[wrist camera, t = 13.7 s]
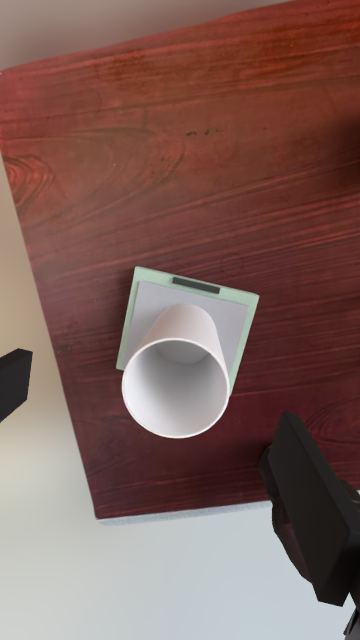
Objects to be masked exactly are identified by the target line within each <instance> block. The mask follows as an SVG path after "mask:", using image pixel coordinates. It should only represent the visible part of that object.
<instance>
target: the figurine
mask: <svg viewBox="0 0 360 640" xmlns="http://www.w3.org/2000/svg"><path fill="white" fill-rule="evenodd" d="M270 448H271V446H268V447H267V448H266V449H265V451H264V453H263V454H262V456H261V459H260V460H259V461H258V465H257V470H258V473H259V474H260V475H261V476H262V481H263V484H264V486H265V488H266V491H267V493H268V496H269V498H270V500H271V502H272V504H273V507H272V524H273V528H274V532H275V533H276V535H277V536H278V538H279V539H280V541H281V543H282V544H283V547H284V549H285V551H286V553H287V555H288V557H289V559H290V560H291V562H292V563H293V564H294V566H295V567H296V569H297V570H298V572H299V573H300V575H301V576H302V577H303V578H305V579H306V580H307V581H309V582H310V583H312V582H311V580H310V577H309V574H308V571H307V568H306V565H305V562H304V560H303V557H302V554H301V551H300V548H299V545H298V543H297V540H296V537H295V534H294V531H293V528H292V525H291V523H290V520H289V517H288V514H287V511H286V508H285V506H284V503H283V500H282V497H281V494H280V491H279V489H278V486H277V483H276V480H275V477H274V474H273V471H272V469H271V466H270V463H269V460H268V454H269V451H270Z"/></svg>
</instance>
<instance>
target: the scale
mask: <svg viewBox="0 0 360 640" xmlns="http://www.w3.org/2000/svg"><path fill="white" fill-rule="evenodd" d="M258 299H259V296H258V295H257V294H255V293H251V292H246V291H242V290H238V289H234V288H229V287H225V286H221V285H217V284H212V283H208V282H204V281H200V280H195V279H191V278H187V277H183V276H178V275H174V274H170V273H166V272H161V271H157V270H153V269H149V268H145V267H140V266H138V267H135V271H134V277H133V282H132V287H131V292H130V297H129V303H128V308H127V313H126V318H125V323H124V328H123V334H122V339H121V344H120V349H119V354H118V360H117V365H116V369H120V370H124V371H125V368H126V366H127V364H128V362H129V360H130V358H131V357H132V355H133V354H134V352H135V351H136V349H137V348H138V346H139V345H140V343H141V342H142V340H143V339H144V337H145V336H146V334H147V333H148V331H149V330H150V328H151V327H152V325H153V324H154V322H155V321H156V319H157V318H158V316H159V315H160V314H161V313H162V312H163V311H164V310H166V309H167V308H169V307H171V306H173V305H177V304H192V305H195V306H198V307H200V308H202V309H203V310H204V311H206V312H207V313H208V314H209V315H210V317H211V318H212V320H213V322H214V324H215V327H216V330H217V334H218V338H219V342H220V346H221V350H222V354H223V357H224V361H225V365H226V369H227V373H228V377H229V384H230V393H229V396H230V395H231V392H232V389H233V385H234V382H235V378H236V375H237V371H238V368H239V364H240V361H241V358H242V354H243V351H244V347H245V344H246V340H247V337H248V333H249V330H250V327H251V323H252V320H253V316H254V313H255V309H256V306H257V303H258Z"/></svg>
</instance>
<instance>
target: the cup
mask: <svg viewBox="0 0 360 640" xmlns="http://www.w3.org/2000/svg"><path fill="white" fill-rule="evenodd" d="M122 393H123V398H124V402H125V404H126V407H127V409H128V411H129V412H130V414H131V415H132V416H133V418H134V419H135V420H136V421H137V422H138V423H139V424H140V425H141V426H143V427H144V428H145V429H147V430H149V431H151V432H153V433H155V434H157V435H160V436H164V437H169V438H185V437H191V436H194V435H197V434H200V433H202V432H204V431H205V430H207V429H209V428H210V427H211V426H213V425H214V424H215V423H216V422H217V421H218V420H219V418H220V417H221V416H222V414H223V412H224V411H225V408H226V406H227V403H228V399H229V393H230V384H229V377H228V373H227V369H226V365H225V361H224V357H223V354H222V350H221V346H220V342H219V338H218V334H217V330H216V327H215V324H214V322H213V320H212V318H211V317H210V315H209V314H208V313H207V312H206V311H204V310H203V309H202V308H200V307H198V306H195V305H192V304H177V305H173V306H171V307H169V308H167V309H166V310H164V311H163V312H162V313H161V314H160V315H159V316H158V318H157V319H156V321H155V322H154V324H153V325H152V327H151V328H150V330H149V331H148V333H147V334H146V336H145V337H144V339H143V340H142V342H141V343H140V345H139V346H138V348H137V349H136V351H135V352H134V354H133V355H132V357H131V358H130V360H129V362H128V364H127V366H126V368H125V371H124V374H123V379H122Z"/></svg>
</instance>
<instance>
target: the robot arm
mask: <svg viewBox="0 0 360 640" xmlns="http://www.w3.org/2000/svg"><path fill="white" fill-rule="evenodd" d="M32 354H33V352H31V351H27V350H23V349H19V348H18V349H16V350H14V351H12V352H10V353H8V354H6V355H4V356H3V357H1V358H0V422H1V421H3V420H4V419H5V418H6V417H7V416H8V415H10V414H11V413H12V412H13V411H14V410H15V409H16V408H18V407H19V406H20V405H21V404H22V403H23V402H25V401H26V400H27V394H28V386H29V378H30V370H31V362H32ZM268 460H269V463H270V466H271V469H272V471H273V474H274V477H275V480H276V483H277V486H278V489H279V491H280V494H281V497H282V500H283V503H284V506H285V508H286V511H287V514H288V517H289V520H290V523H291V525H292V528H293V531H294V534H295V537H296V540H297V543H298V545H299V548H300V551H301V554H302V557H303V560H304V562H305V565H306V568H307V571H308V574H309V577H310V580H311V582H312V585H313V588H314V591H315V594H316V597H317V599H318V601H319V602H324V603H328V604H332V605H336V606H340V607H342V606H343V604H344V602H345V600H346V598H347V596H348V594H349V592H350V594H351V597H352V599H353V601H354V603H355V605H356V609H355V611H354V612H353V614H352V617H351V619H350V621H349V623H348V625H347V627H346V629H345V631H344V633H343V634H344V635H345V636H346V637H345V640H360V495H359V493H358V492H357V491H356V490H355V489H354V488H353V487H352V486H351V485H350V484H349V483H348V482H347V481H346V480H341V479H338V477H337V476H336V474H335V473H334V471H333V469H332V468H331V466H330V465H329V463H328V462H327V460H326V458H325V457H324V455H323V454H322V452H321V451H320V449H319V447H318V446H317V444H316V443H315V441H314V440H313V438H312V436H311V435H310V433H309V432H308V430H307V428H306V427H305V425H304V424H303V422H302V421H301V419H300V417H299V416H298V415H296V414H292V413H288V412H284V411H283V413H282V416H281V419H280V422H279V425H278V428H277V431H276V434H275V437H274V439H273V442H272V445H271V448H270V451H269V454H268Z"/></svg>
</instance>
